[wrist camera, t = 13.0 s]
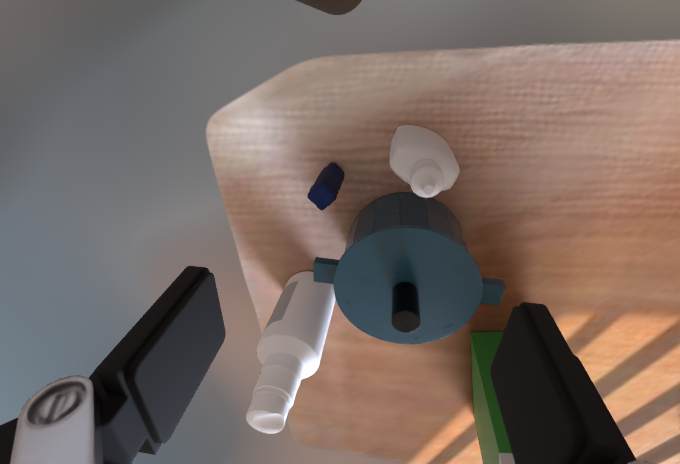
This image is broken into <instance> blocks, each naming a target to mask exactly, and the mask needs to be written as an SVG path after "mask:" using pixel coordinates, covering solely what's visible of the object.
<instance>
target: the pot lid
mask: <svg viewBox="0 0 680 464" xmlns="http://www.w3.org/2000/svg"><path fill="white" fill-rule="evenodd" d="M333 286H334V294H335V298H336V301H337V303H338V305H339V307H340V309H341V311H342V312H343V314H344V315H345V316H346V318H347V319H348V320H349V321H350V322H351V323H352V324H354V325H355V326H356V327H357V328H359V329H360V330H362V331H363V332H365V333H367V334H369V335H371V336H373V337H375V338H378V339H380V340H384V341H387V342H392V343H398V344H422V343H428V342H433V341H436V340H440V339H442V338H445V337H447V336H449V335H451V334H453V333H455V332H456V331H458V330H459V329H460V328H462V327H463V326H464V325H465V324H466V323H467V322H468V321H469V320H470V319H471V318H472V317H473V315H474V314H475V312H476V311H477V309H478V306H479V304H480V302H481V297H482V292H483V283H482V277H481V273H480V270H479V267H478V265H477V263H476V261H475V259H474V258H473V256H472V255H471V254H470V252H469V251H468V250H467V249H466V248H465V247H464V246H463V245H462V244H460V243H459V242H458V241H457V240H455V239H454V238H452V237H450V236H448V235H447V234H444V233H442V232H440V231H437V230H434V229H431V228H427V227H421V226H414V225H399V226H391V227H385V228H382V229H378V230H375V231H373V232H371V233H368V234H366V235H364V236H363V237H361V238H359V239H358V240H357V241H355V242H354V243H353V244H352V245H351V246H350V247H349V248H348V249H347V250H346V251H345V252H344V254H343V255H342V257H341V258H340V260H339V262H338V264H337V267H336V270H335V274H334V281H333Z"/></svg>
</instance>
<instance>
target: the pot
mask: <svg viewBox="0 0 680 464" xmlns="http://www.w3.org/2000/svg"><path fill="white" fill-rule="evenodd" d="M399 225H414V226H421V227H427V228H431V229H434V230H437V231H440V232H442V233H444V234H447V235H448V236H450V237H452V238H454V239H455V240H457V241H458V242H459V243H460V244H462V245H463V246H464V247H465V248H466V249H467V247H466V244H465V241H464V237H463V234H462V231H461V228H460V225H459V223H458V221H457V220H456V218H455V217H454V215H453V214H452V213H451V212H450V210H449V209H448V208H447V207H445V206H444V205H443V204H442V203H440V202H439V201H437V200H435V199H433V198H431V197H429V198H425V197H424V198H423V197H420V196H418V195H417V194H416V193H410V192H402V193H394V194H389V195H386V196H383V197H381V198H378V199H376V200H374V201H373V202H371V203H370V204H369V205H367V206H366V207H365V208H364V209H363V210H362V211H361V212H360V213H359V215H358V216H357V218H356V219H355V221H354V224H353V226H352V228H351V230H350V233H349V237H348V241H347V245H346V248H345V251H346V250H347V249H348V248H349V247H350V246H351V245H352V244H353V243H354V242H355V241H357V240H358V239H359V238H361V237H363V236H364V235H366V234H368V233H371V232H373V231H375V230H378V229H382V228H385V227H391V226H399ZM338 262H339V260H335V259H327V258H319V257H316V258H315V260H314V282H320V283H327V284H333V281H334V274H335V270H336V267H337V264H338ZM482 283H483V292H482V297H481V302H480V303H481V304H488V305H496V306H499V304H500V301H501V298H502V295H503V293H504V290H505V287H506V286H505V283H504V281H503V280H499V279H491V278H482Z"/></svg>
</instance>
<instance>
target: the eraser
mask: <svg viewBox="0 0 680 464" xmlns="http://www.w3.org/2000/svg"><path fill="white" fill-rule="evenodd" d="M343 179H344V172H343V171H342V170H341V168H340V167H339V166H338V165H337V164H336V163H334V162H332V163H330V164H329V165H328V166H327V167H326V168H324V169H323V171H322V172H321V173H320V175H319V176H318V178H317V180H316V182H315V184H314V185H313V186H312V187H311V189H310V191H309V193H308V198H309V200H311V201H312V202H313V203H314V204H315V205H316V206H317V207H318V208H319V209H320V210H324V209H325V208H326V207H327V206H329V205H330V204H331V203H332V202H333V201H334V200H335V199H336V197H337V194H338V191H339V189H340V186H341V183H342V181H343Z"/></svg>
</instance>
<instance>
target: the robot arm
mask: <svg viewBox="0 0 680 464" xmlns="http://www.w3.org/2000/svg"><path fill="white" fill-rule="evenodd" d="M224 339H225V327H224V322H223V317H222V312H221V308H220V303H219V298H218V293H217V288H216V283H215V278H214V275H213V273H210V272H209V270H208V268H205V267H196V266H188V267H187V268H185V269H184V271H183V272H182V273H181V274H180V275H179V276H178V277H177V278H176V280H175V281H174V282H173V283H172V284H171V285H170V286H169V287H168V289H167V290H166V291H165V292H164V293H163V294H162V295H161V297H160V298H159V299H158V300H157V301H156V302H155V303H154V304H153V305H152V306H151V308H150V309H149V310H148V311H147V312H146V313H145V314H144V315H143V317H142V318H141V319H140V320H139V321H138V322H137V323H136V324H135V326H134V327H133V328H132V329H131V330H130V331H129V332H128V333H127V335H126V336H125V337H124V338H123V339H122V340H121V341H120V343H118V345H117V346H116V347H115V348H114V349H113V350H112V351H111V352H110V354H109V355H108V356H107V357H106V358H105V359H104V360H103V362H102V363H101V364H100V365H99V366H98V367H97V368H96V369H95V371H94V372H93V373H92V375H91V376H90V377H89V378H87V377H84V376H80V375H79V376H78V375H77V376H68V377H64V378H61V379H58V380H56V381H54V382H52V383H49V384H48V385H46V386H45V387H43V388H41V389H40V390H39V391H37V392H36V393H35V394H34V395H33V396H32V397H31V398H30V399H28V401H27V402H26V404H25V405H24V406H23V407H22V410H21V412H20V415H19V417H18V418H16V419H14V420H12V421H9V422H7V423H5V424H3V425H0V464H132V461H133V460H134V458H135V456H136V455H137V453H138V452H142V453H148V454H154V455H155V454H156V453H157V451H158V449H159V447H160V446H161V444H162V443H166V442H167V441H168V440H169V439H170V437H171V435H172V433H173V432H174V430H175V428H176V426H177V425H178V423H179V421H180V419H181V417H182V416H183V413H184V412H185V410H186V408H187V406H188V405H189V403H190V401H191V399H192V398H193V396H194V394H195V392H196V390H197V389H198V387H199V385H200V383H201V381H202V379H203V378H204V376H205V374H206V372H207V371H208V369H209V367H210V365H211V363H212V362H213V360H214V358H215V356H216V354H217V352H218V351H219V349H220V347H221V345H222V343H223V342H224ZM490 373H491V379H492V383H493V386H494V390H495V394H496V397H497V401H498V404H499V408H500V411H501V415H502V419H503V422H504V426H505V429H506V433H507V436H508V440H509V444H510V447H511V451H512V454H513V458H514V461H515V464H654V463H651V462H648V461H640V460H636V458H635V456H634V455H633V453H632V451H631V449H630V448H629V446H628V444H627V442H626V441H625V439H624V437H623V435H622V434H621V432H620V430H619V428H618V426H617V425H616V423H615V421H614V419H613V418H612V416H611V414H610V412H609V411H608V409H607V407H606V405H605V404H604V402H603V400H602V398H601V397H600V395H599V393H598V391H597V389H596V388H595V386H594V384H593V382H592V381H591V379H590V377H589V375H588V374H587V372H586V370H585V368H584V367H583V365H582V363H581V362H580V360H579V359H578V357H576V356H575V355H573V353H572V352H571V350H570V348H569V346H568V344H567V343H566V341H565V339H564V337H563V335H562V334H561V332H560V330H559V328H558V326H557V325H556V323H555V321H554V319H553V317H552V316H551V314H550V312H549V310H548V308H547V307H546V306H545V305H543V304H535V303H526V302H522V303H521V304H520V306H519V307H517V306H515V307H514V308H513V310H512V312H511V315H510V318H509V320H508V323H507V325H506V328H505V331H504V333H503V336H502V339H501V341H500V344H499V346H498V349H497V352H496V354H495V357H494V359H493V362H492V365H491V372H490Z"/></svg>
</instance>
